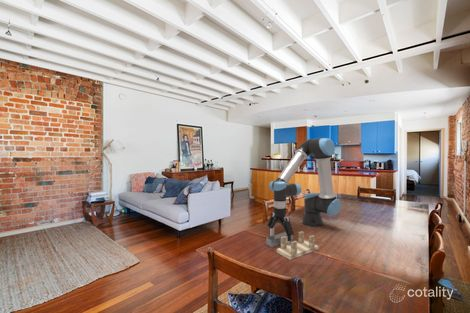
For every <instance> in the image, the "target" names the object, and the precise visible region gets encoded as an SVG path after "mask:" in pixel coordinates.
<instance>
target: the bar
mask: <svg viewBox="0 0 470 313" xmlns="http://www.w3.org/2000/svg"><path fill="white" fill-rule="evenodd" d="M286 235H287V234H286V232H285V231H284V232H280V233H277V234H274V236H270V235H269V236H267V237H265V244H266V246H268V247H270V248H273V247H276V246H281V237H284V236H285V237H286ZM292 241H294V235H291V241H290V242H292Z"/></svg>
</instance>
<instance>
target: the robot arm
mask: <svg viewBox="0 0 470 313" xmlns="http://www.w3.org/2000/svg"><path fill="white" fill-rule="evenodd" d="M335 150H336V147H335V144H334V142H333V140H332V139H331V138H328V137H327V138H326V137H325V138H324V137H319V138H309V139H307V140H305V141H304V142H302V143H301V144H300V145H299V146H298V147H297V148H296V149H295V154H293V156H292V157H291V159H290V161H289V162H288V163H287V164H286V166H284V168H283V170H282V171H281V173H280V174H279V175H278V176H277V178H276V179H275V180H272V181H270V182H269V185H268V189H269V190H270V191H271V192H272V193H273V212H270V218H269V220H268V222H267V227H269V234H270V235H269V237H270V236H274V235H275V225H277V223H279V224H281V226H282V227H283V230H284V232H286V234H287V235H286V237H287V245H290V244H291V242H292V241H291V235H293V236H294V235H295V233H294V231H293V230H294V229H293V228H292V225H291V221H290V220H291V218H290V217H286V214H287V197H296V196H299V195H300V194H301V193H302V186H301V185H300V184H299V183H298V182H297V183H295V182H294V183H289V182H290V181H291V179H292V178H293V176H294V175H295V173H296V171H298V170H299V167H300V166H301V165H302V164H303V162H304V161H305V160H307V158H309V157H310V156H313V159H314V160H315V161H316V165H317V166H316V167H317V175H318V185H319V191H320V192H309V193H305V194H304V201H303V202H304V206H303V207H304V213H303V217H302V219H301V222H302V224H303V225H306V226H307V227H308V226H310V227H321V226H323V225H324V220H323V218H322V214H327V215H330V216H335V215H337V214H338V213H339V212H340V210H341V207H342V202H341V200H340V199H338V198H337V194H336V193H334V185H333V176H332V169H331V159H332V157H333V155H334V154H335ZM321 213H322V214H321Z"/></svg>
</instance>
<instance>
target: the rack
mask: <svg viewBox="0 0 470 313" xmlns="http://www.w3.org/2000/svg"><path fill="white" fill-rule="evenodd" d="M297 233H298V236H297V237H298V240H293V241H290V245H287V237H285V236H284V237H281V244H280V247H279V248H276V253H277V254H279V255H280V256H282V257H284V258H286V259H288V260H289V261H292V260H293V259H296V258H299V257H302V256H305V255H308V254H310V253H312V252H315V251H317V250H319V246H318V245H317V244H316V243H315V242H316V241H315V239H316V238H315V235H313V234H312V235H308V240H305V232H304V231H302V230H301V231H298V232H297Z"/></svg>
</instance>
